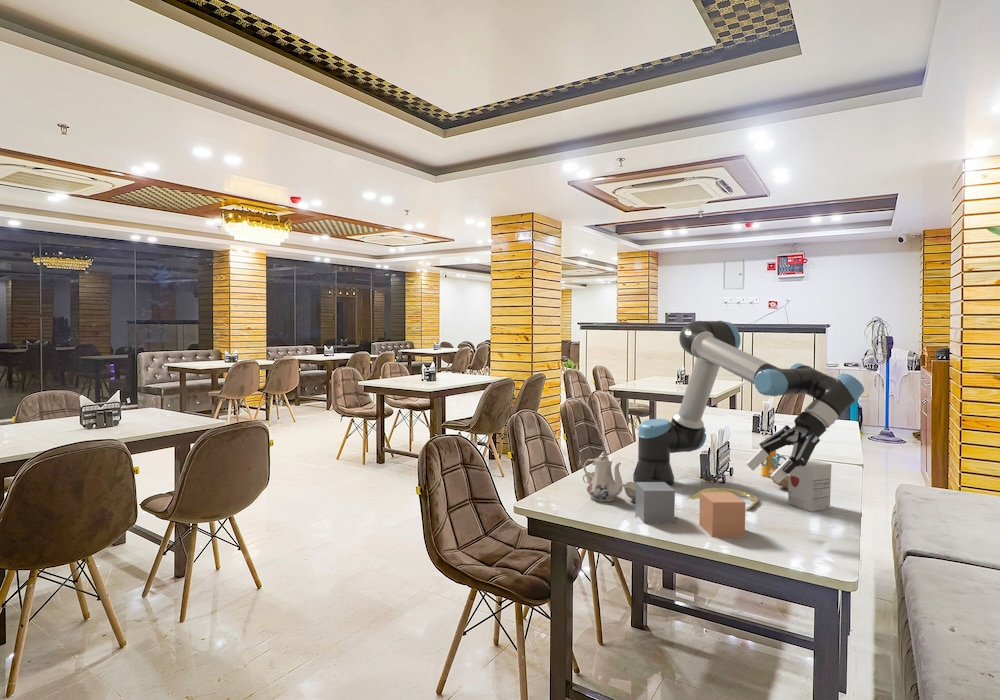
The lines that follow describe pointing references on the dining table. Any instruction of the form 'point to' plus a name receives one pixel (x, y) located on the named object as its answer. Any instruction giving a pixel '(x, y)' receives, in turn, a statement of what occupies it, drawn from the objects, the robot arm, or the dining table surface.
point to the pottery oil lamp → (783, 483)
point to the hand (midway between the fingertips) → (761, 473)
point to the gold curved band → (727, 491)
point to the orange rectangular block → (722, 514)
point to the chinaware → (606, 481)
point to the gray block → (655, 502)
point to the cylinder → (771, 463)
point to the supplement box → (810, 486)
